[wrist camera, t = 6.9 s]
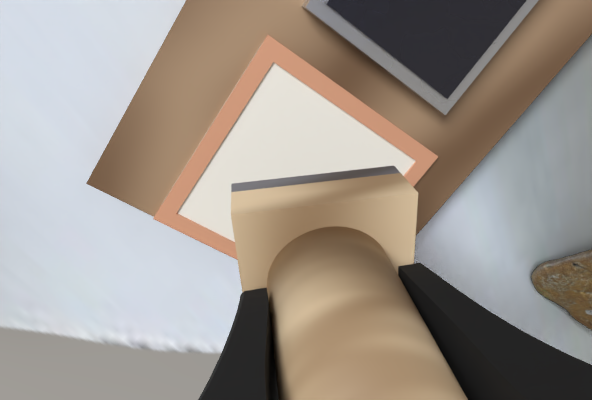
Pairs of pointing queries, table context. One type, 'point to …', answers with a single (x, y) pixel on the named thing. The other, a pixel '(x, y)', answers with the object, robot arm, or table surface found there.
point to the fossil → (568, 284)
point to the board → (339, 68)
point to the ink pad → (425, 38)
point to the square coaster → (281, 142)
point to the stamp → (339, 285)
